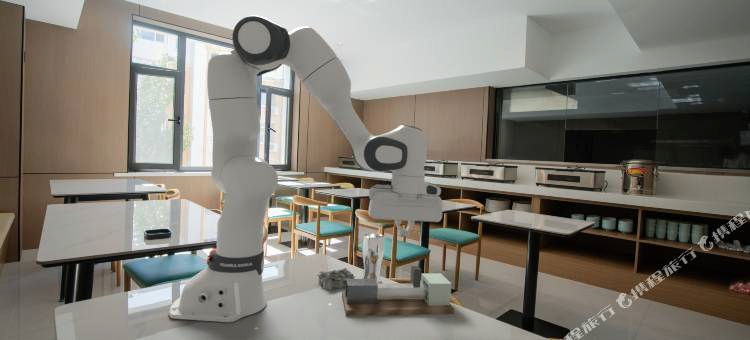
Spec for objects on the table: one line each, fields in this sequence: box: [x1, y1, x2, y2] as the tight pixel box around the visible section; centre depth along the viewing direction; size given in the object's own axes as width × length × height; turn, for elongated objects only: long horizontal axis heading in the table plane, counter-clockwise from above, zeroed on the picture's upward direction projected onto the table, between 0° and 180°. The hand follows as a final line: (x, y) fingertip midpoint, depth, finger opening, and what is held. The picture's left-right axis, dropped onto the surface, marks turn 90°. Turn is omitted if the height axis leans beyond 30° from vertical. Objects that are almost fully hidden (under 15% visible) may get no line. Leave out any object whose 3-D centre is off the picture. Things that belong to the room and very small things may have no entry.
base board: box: [341, 291, 455, 317], centre depth 100 cm, size 29×12×2 cm, turn 100°
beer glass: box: [361, 232, 385, 284], centre depth 117 cm, size 7×7×15 cm
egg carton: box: [317, 267, 357, 290], centre depth 114 cm, size 11×8×4 cm
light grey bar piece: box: [377, 265, 428, 299], centre depth 100 cm, size 21×3×8 cm, turn 100°
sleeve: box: [344, 278, 378, 304], centre depth 99 cm, size 8×5×5 cm, turn 100°
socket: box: [420, 272, 452, 306], centre depth 102 cm, size 6×8×8 cm
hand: (403, 236), depth 100 cm, fingers closed
